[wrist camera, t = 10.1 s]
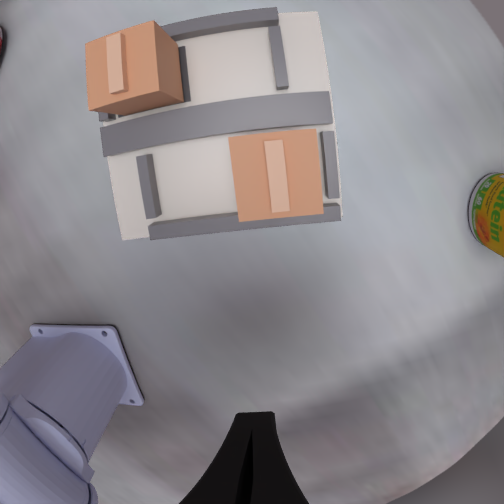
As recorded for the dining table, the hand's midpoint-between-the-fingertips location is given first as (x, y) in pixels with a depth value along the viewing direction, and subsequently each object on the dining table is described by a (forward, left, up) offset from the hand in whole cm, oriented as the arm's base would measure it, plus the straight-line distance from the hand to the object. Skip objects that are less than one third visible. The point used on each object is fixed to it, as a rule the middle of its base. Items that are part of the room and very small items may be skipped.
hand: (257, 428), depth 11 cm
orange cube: (+1, +8, -9) cm, 12 cm away
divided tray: (-2, +12, -10) cm, 16 cm away
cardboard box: (-5, +14, -9) cm, 18 cm away
